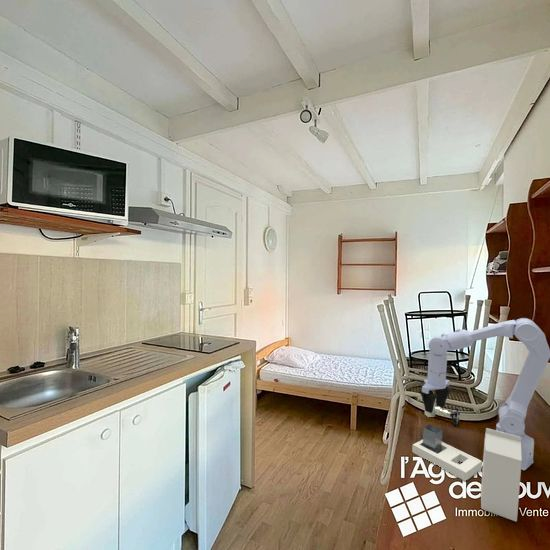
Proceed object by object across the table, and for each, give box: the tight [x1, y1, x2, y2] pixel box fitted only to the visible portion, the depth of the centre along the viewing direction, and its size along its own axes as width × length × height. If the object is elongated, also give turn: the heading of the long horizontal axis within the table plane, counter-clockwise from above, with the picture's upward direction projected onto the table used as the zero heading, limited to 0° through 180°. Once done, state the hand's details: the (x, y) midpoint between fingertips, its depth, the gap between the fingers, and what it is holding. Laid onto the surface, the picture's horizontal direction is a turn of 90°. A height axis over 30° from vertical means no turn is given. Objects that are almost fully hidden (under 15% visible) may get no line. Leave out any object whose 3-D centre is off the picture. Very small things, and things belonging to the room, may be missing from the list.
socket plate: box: [411, 438, 483, 482], centre depth 99 cm, size 16×10×2 cm, turn 35°
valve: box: [424, 400, 461, 426], centre depth 126 cm, size 7×7×12 cm
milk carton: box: [480, 427, 522, 523], centre depth 80 cm, size 7×7×19 cm
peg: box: [422, 423, 444, 454], centre depth 103 cm, size 4×4×8 cm
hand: (434, 409), depth 113 cm, fingers open, 7 cm apart
